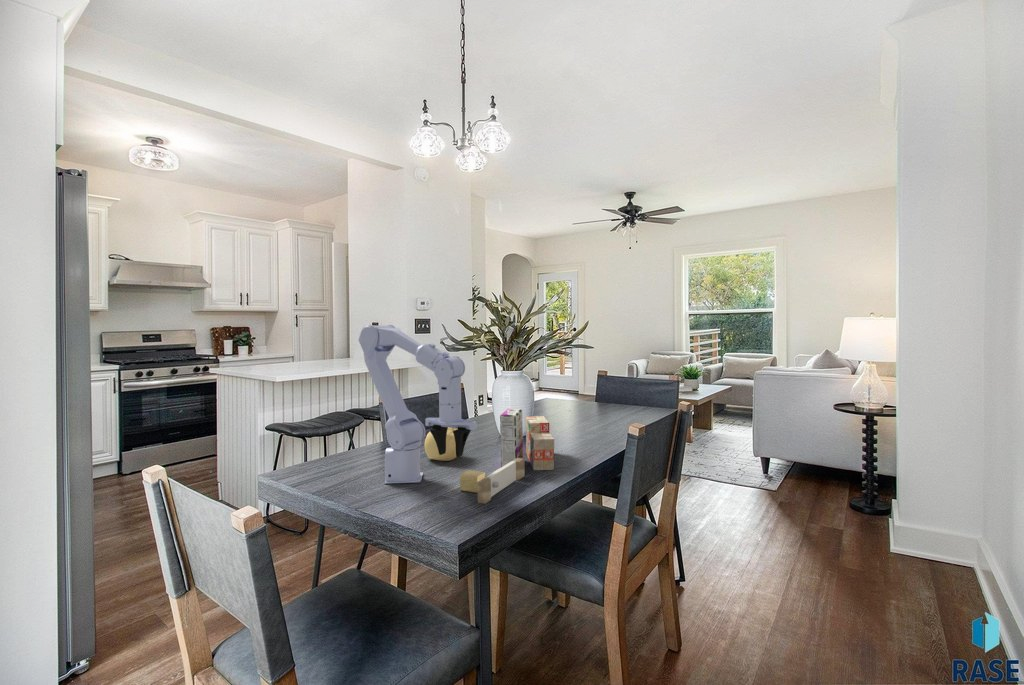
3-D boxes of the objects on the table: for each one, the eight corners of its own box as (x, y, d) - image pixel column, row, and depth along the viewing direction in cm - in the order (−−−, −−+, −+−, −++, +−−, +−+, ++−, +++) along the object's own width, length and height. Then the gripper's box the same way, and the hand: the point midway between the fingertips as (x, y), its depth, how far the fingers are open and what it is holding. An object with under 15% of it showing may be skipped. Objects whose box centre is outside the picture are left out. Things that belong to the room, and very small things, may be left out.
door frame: (477, 502, 116) (477, 481, 116) (518, 475, 137) (517, 457, 137) (485, 503, 115) (484, 482, 115) (524, 476, 136) (524, 458, 136)
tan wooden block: (460, 491, 124) (460, 474, 124) (468, 486, 128) (468, 469, 128) (477, 494, 122) (477, 476, 122) (485, 489, 126) (484, 472, 126)
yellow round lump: (460, 463, 149) (459, 428, 149) (421, 463, 150) (420, 429, 149) (464, 453, 161) (464, 421, 160) (428, 454, 161) (428, 421, 161)
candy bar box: (507, 460, 153) (507, 408, 152) (523, 460, 152) (523, 408, 151) (499, 470, 142) (499, 414, 142) (516, 471, 141) (516, 414, 141)
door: (485, 496, 119) (485, 476, 119) (511, 479, 133) (511, 461, 132) (493, 498, 118) (493, 477, 118) (519, 480, 132) (519, 462, 131)
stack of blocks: (554, 470, 142) (554, 428, 142) (533, 471, 142) (532, 429, 141) (544, 451, 163) (544, 415, 163) (525, 452, 163) (525, 415, 162)
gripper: (418, 403, 126) (418, 455, 127) (466, 407, 120) (467, 461, 121) (433, 400, 133) (434, 449, 133) (480, 403, 127) (480, 454, 127)
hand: (450, 454), depth 127 cm, fingers open, 5 cm apart
